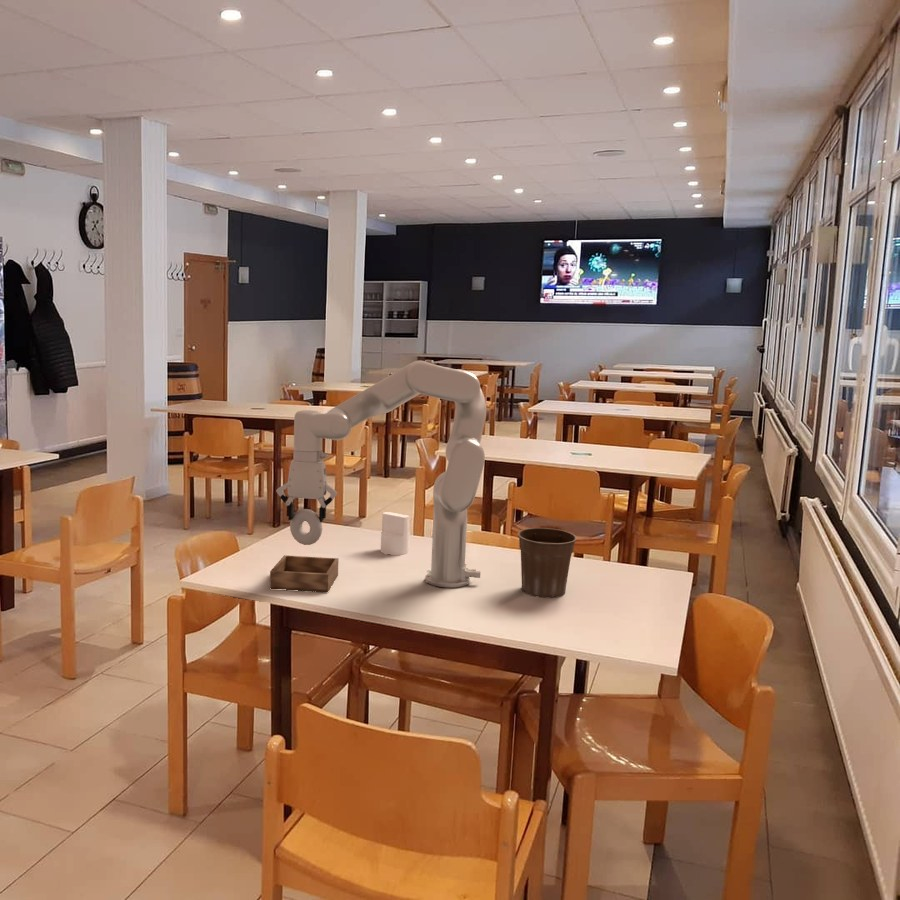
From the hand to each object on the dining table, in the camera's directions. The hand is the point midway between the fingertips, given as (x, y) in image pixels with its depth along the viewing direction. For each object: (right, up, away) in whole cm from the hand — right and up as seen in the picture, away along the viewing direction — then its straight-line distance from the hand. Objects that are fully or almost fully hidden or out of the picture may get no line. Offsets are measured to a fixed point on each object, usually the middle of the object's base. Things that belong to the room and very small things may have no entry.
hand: (306, 519), depth 226 cm
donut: (0, -7, +1) cm, 7 cm away
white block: (+22, -13, +38) cm, 45 cm away
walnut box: (-1, -17, +3) cm, 18 cm away
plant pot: (+65, -21, +4) cm, 69 cm away
